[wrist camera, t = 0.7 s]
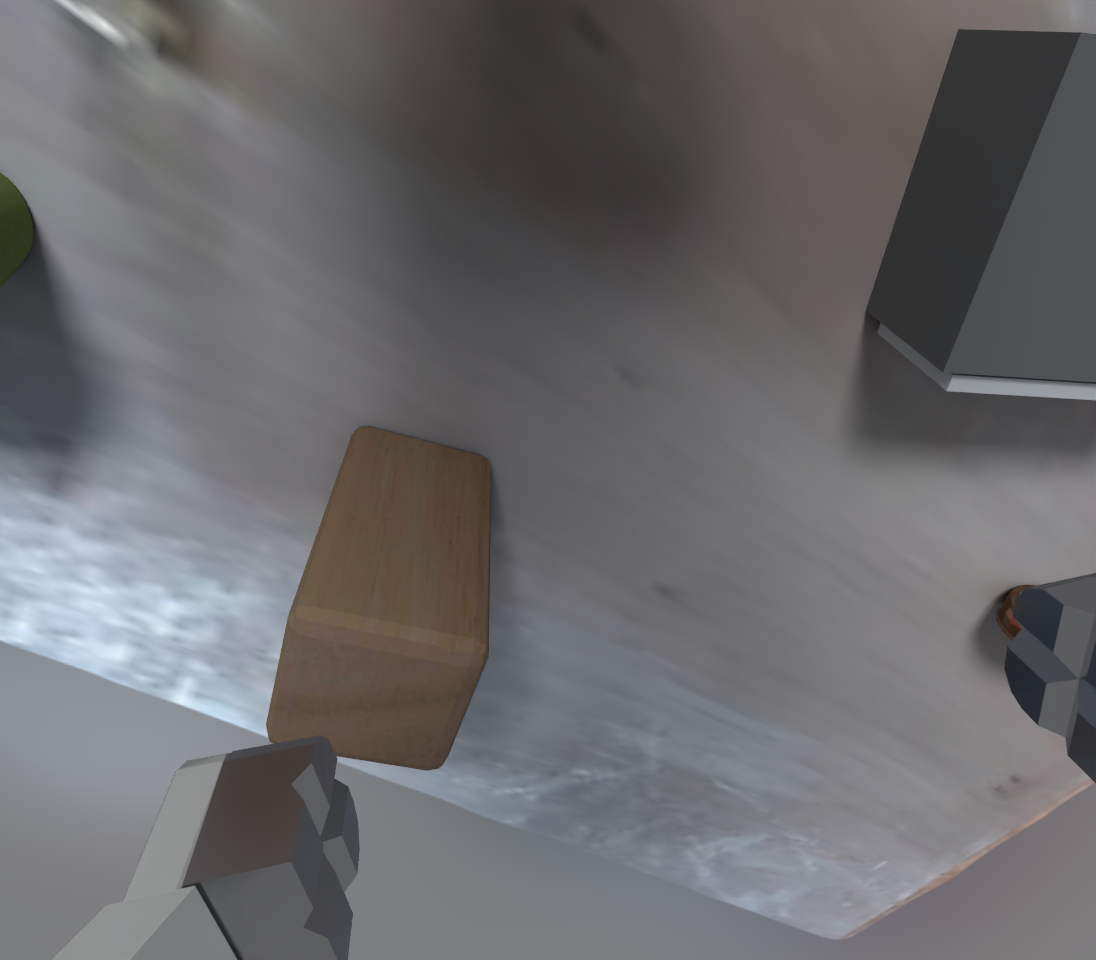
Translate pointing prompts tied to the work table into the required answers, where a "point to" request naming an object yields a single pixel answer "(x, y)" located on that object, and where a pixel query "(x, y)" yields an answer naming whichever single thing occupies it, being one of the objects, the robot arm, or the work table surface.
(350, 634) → the wooden block
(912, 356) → the door
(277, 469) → the work table surface
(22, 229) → the plant pot
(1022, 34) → the cabinet body
